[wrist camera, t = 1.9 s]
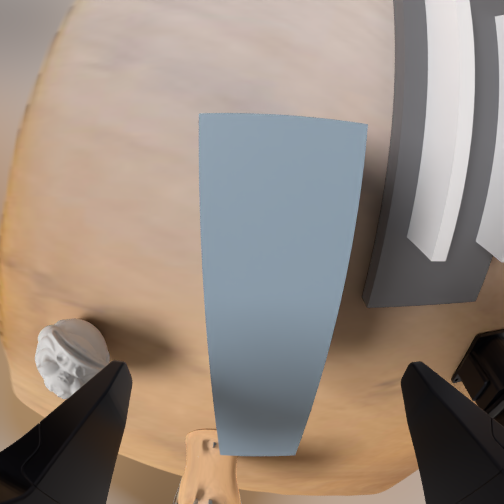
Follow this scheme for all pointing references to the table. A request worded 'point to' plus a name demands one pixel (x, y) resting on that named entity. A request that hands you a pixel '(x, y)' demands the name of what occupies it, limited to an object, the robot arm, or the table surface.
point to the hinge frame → (442, 156)
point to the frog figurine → (70, 355)
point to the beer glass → (207, 472)
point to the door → (273, 266)
